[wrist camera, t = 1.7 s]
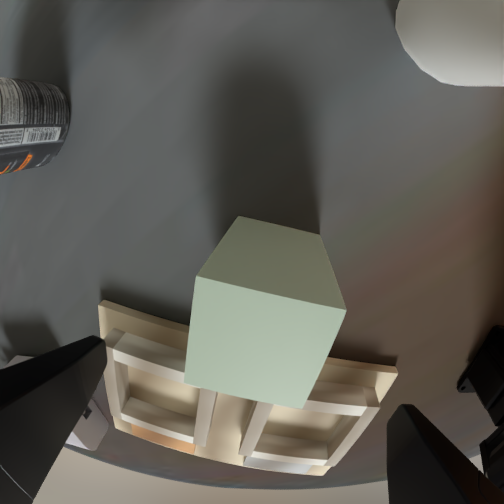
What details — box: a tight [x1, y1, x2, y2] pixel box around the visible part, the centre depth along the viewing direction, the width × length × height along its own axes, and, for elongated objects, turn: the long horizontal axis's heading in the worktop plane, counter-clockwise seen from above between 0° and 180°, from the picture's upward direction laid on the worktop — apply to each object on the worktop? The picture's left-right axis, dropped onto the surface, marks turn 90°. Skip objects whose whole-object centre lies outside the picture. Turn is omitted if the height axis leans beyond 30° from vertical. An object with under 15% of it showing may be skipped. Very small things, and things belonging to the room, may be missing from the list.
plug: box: [184, 216, 347, 409], centre depth 13 cm, size 4×4×8 cm
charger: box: [4, 355, 108, 451], centre depth 23 cm, size 5×9×15 cm
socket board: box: [98, 300, 398, 476], centre depth 20 cm, size 21×15×3 cm
